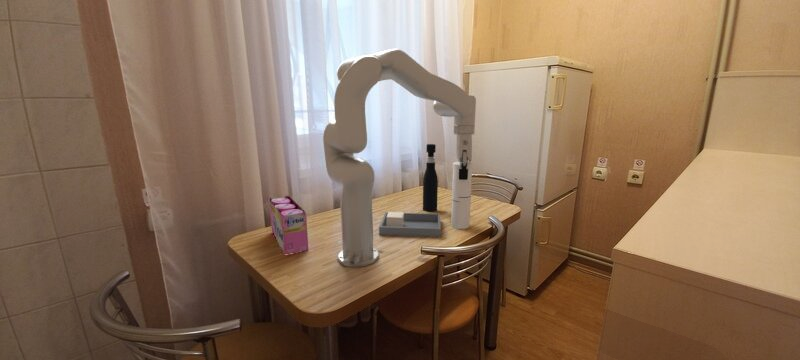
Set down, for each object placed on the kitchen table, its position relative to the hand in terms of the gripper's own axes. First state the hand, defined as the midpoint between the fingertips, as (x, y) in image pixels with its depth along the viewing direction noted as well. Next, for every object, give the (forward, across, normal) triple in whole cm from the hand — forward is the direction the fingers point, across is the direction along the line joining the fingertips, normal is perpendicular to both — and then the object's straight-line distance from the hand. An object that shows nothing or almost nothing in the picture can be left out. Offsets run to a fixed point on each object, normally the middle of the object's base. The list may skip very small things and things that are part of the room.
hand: (462, 176), depth 122 cm
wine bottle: (+20, +16, +12) cm, 28 cm away
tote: (+20, -6, +19) cm, 28 cm away
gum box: (+20, -20, +61) cm, 67 cm away
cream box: (+19, -6, +25) cm, 32 cm away
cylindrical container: (+20, 0, 0) cm, 20 cm away
